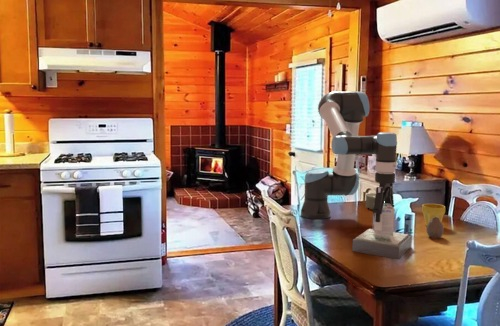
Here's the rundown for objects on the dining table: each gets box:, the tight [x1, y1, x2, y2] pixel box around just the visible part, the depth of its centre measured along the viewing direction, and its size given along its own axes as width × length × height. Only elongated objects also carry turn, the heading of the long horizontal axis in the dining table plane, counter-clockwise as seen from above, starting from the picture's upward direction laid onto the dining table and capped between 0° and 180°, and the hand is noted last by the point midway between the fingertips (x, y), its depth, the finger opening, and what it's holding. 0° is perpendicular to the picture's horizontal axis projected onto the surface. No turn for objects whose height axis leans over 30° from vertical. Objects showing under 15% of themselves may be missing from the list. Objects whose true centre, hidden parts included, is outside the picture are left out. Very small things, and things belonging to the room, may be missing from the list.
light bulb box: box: [372, 203, 395, 236], centre depth 194 cm, size 11×7×11 cm, turn 174°
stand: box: [352, 228, 412, 260], centre depth 196 cm, size 18×18×5 cm
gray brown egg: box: [426, 217, 445, 239], centre depth 213 cm, size 7×7×9 cm
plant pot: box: [421, 203, 446, 227], centre depth 233 cm, size 10×10×10 cm
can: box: [365, 193, 376, 210], centre depth 272 cm, size 12×12×7 cm
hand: (382, 226), depth 195 cm, fingers closed on light bulb box, 12 cm apart
